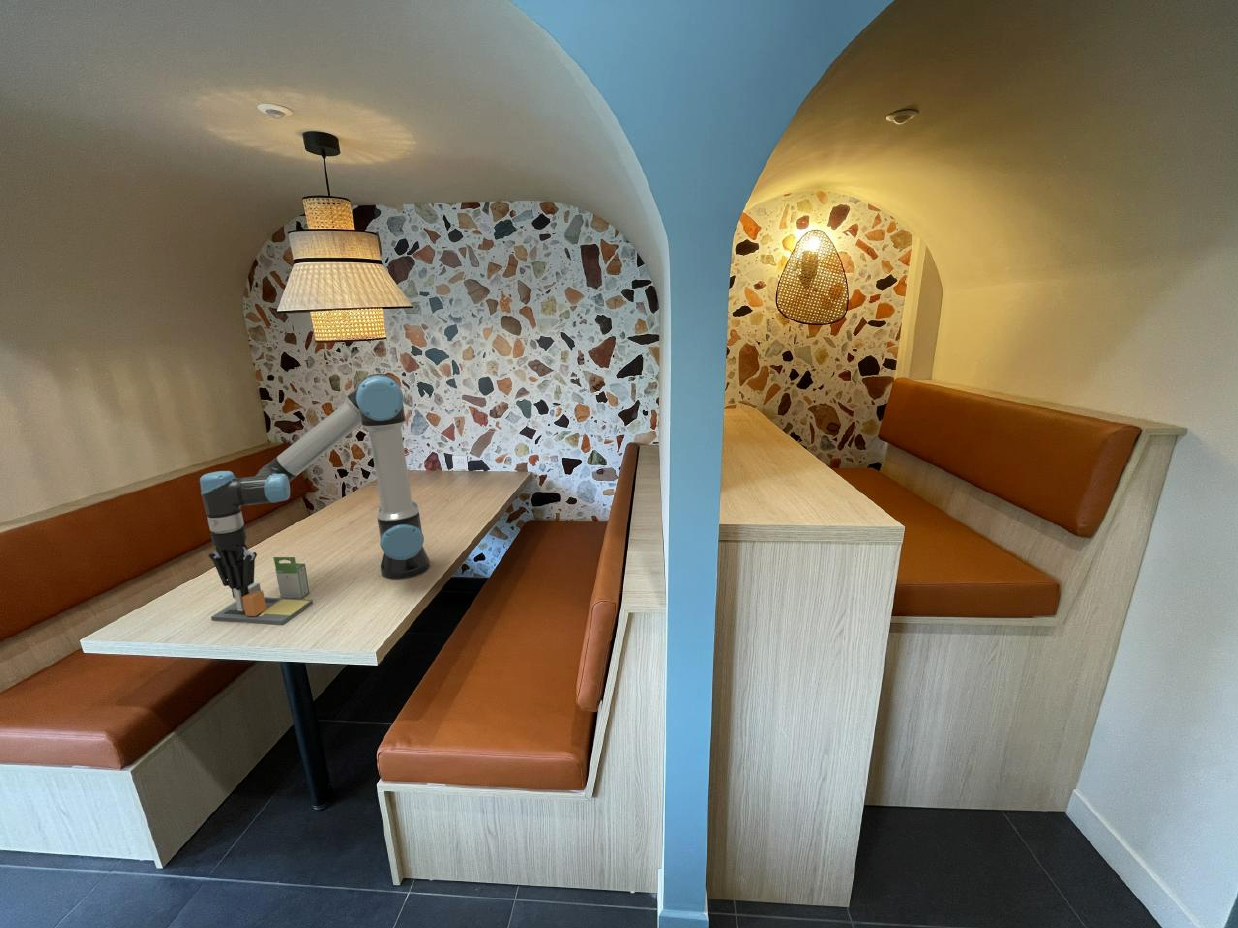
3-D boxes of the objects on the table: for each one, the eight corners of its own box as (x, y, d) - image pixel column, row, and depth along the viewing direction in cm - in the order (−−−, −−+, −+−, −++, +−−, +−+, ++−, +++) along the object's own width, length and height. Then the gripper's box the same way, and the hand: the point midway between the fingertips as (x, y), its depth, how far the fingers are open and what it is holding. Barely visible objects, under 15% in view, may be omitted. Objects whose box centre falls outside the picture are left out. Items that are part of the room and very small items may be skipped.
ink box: (310, 592, 165) (303, 552, 162) (301, 599, 161) (294, 557, 158) (289, 592, 166) (281, 551, 163) (280, 598, 162) (272, 556, 159)
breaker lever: (257, 608, 153) (253, 590, 152) (266, 608, 153) (263, 591, 151) (245, 615, 149) (241, 597, 148) (255, 616, 149) (251, 597, 148)
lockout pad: (282, 599, 159) (282, 599, 159) (310, 601, 157) (310, 600, 157) (261, 613, 151) (261, 613, 151) (290, 615, 150) (290, 614, 150)
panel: (246, 599, 162) (243, 582, 160) (313, 603, 159) (310, 585, 157) (211, 620, 150) (207, 601, 149) (282, 625, 147) (279, 606, 146)
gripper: (193, 533, 143) (211, 613, 149) (237, 534, 141) (253, 616, 147) (218, 523, 150) (234, 600, 156) (259, 524, 148) (274, 603, 154)
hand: (243, 608), depth 151 cm, fingers closed
